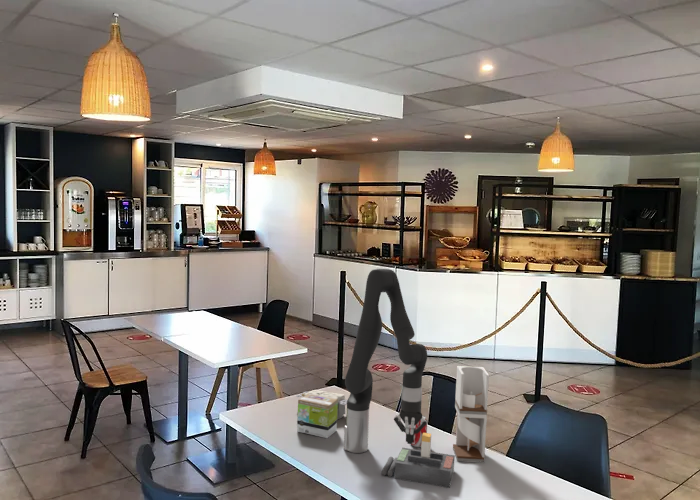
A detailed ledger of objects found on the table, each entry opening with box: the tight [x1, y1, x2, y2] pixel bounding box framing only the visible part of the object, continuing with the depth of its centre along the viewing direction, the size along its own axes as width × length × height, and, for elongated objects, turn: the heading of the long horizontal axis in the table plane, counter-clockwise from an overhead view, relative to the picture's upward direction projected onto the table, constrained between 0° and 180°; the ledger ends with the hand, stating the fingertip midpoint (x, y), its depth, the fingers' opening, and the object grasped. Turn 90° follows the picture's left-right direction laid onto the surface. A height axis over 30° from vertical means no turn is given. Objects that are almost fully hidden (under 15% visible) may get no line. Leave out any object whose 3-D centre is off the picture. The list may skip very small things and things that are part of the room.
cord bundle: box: [381, 456, 398, 477], centre depth 219 cm, size 4×14×2 cm, turn 164°
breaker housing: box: [394, 447, 456, 489], centre depth 215 cm, size 20×14×8 cm
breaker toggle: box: [420, 432, 432, 458], centre depth 214 cm, size 3×3×9 cm
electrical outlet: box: [295, 389, 348, 420], centre depth 273 cm, size 12×28×10 cm, turn 57°
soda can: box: [410, 414, 428, 448], centre depth 241 cm, size 7×7×12 cm
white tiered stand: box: [452, 365, 490, 463], centre depth 232 cm, size 11×11×35 cm
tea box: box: [296, 394, 338, 439], centre depth 252 cm, size 15×10×15 cm
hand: (409, 443), depth 216 cm, fingers closed
